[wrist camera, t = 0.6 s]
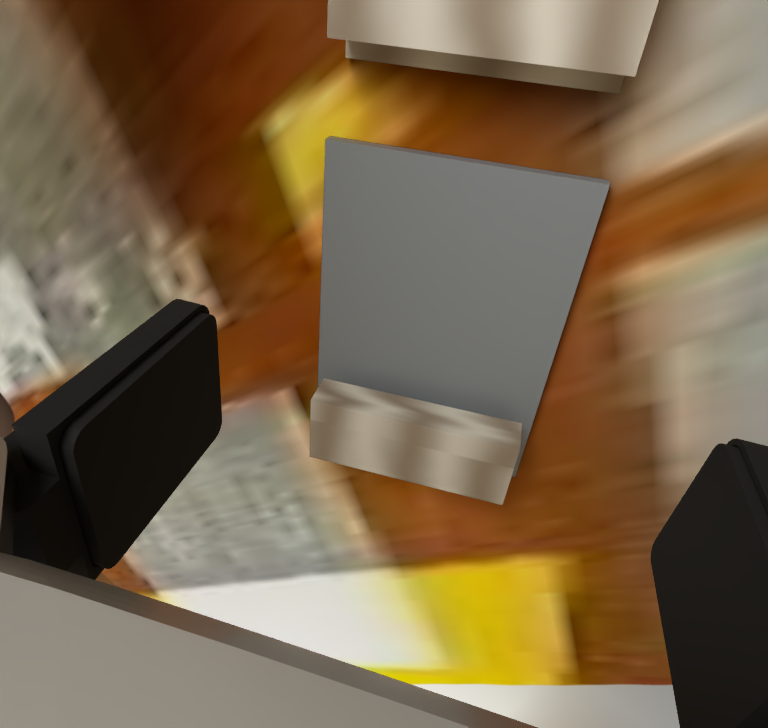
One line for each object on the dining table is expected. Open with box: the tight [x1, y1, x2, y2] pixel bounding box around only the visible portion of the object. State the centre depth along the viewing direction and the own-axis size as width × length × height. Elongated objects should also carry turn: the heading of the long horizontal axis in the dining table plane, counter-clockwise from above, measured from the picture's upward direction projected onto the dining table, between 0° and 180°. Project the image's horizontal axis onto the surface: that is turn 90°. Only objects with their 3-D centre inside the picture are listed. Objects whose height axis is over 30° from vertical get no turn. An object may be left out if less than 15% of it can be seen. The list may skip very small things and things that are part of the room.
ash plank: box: [327, 0, 659, 94], centre depth 29 cm, size 16×7×4 cm, turn 85°
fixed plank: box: [310, 378, 522, 505], centre depth 44 cm, size 16×6×4 cm, turn 85°
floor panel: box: [318, 136, 610, 477], centre depth 42 cm, size 18×25×1 cm
